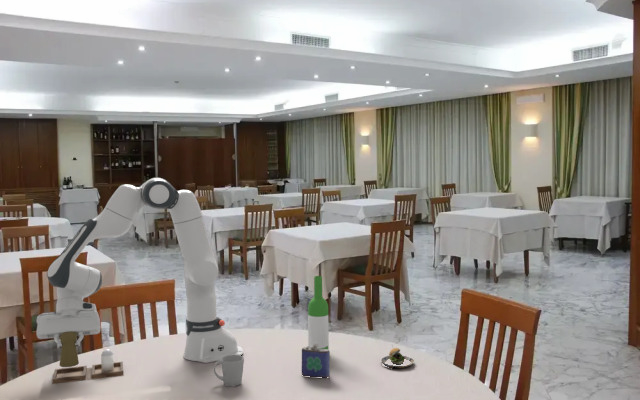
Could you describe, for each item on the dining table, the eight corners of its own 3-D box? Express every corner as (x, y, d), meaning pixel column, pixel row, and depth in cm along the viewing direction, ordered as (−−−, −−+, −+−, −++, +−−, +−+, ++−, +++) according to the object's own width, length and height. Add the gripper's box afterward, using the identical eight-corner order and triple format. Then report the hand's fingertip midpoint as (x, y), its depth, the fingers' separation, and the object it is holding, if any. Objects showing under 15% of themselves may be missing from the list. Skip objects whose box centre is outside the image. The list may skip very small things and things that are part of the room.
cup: (244, 387, 192) (243, 361, 192) (213, 388, 191) (212, 363, 191) (244, 378, 200) (244, 354, 199) (214, 380, 199) (214, 355, 198)
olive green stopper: (72, 367, 196) (71, 335, 195) (55, 366, 197) (54, 334, 196) (82, 361, 201) (81, 330, 201) (66, 360, 203) (65, 329, 202)
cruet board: (122, 368, 211) (122, 360, 211) (123, 379, 200) (123, 371, 199) (55, 375, 203) (55, 368, 203) (52, 388, 192) (52, 380, 192)
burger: (391, 373, 206) (391, 352, 205) (375, 362, 217) (375, 342, 216) (420, 368, 211) (420, 347, 210) (403, 358, 221) (403, 338, 221)
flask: (330, 376, 202) (330, 343, 201) (328, 379, 199) (327, 346, 198) (302, 373, 205) (302, 341, 204) (300, 377, 202) (299, 344, 201)
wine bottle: (332, 352, 227) (332, 275, 225) (321, 358, 220) (321, 279, 218) (315, 349, 231) (315, 273, 229) (304, 355, 224) (303, 277, 222)
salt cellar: (113, 368, 206) (113, 347, 205) (113, 372, 202) (113, 350, 202) (101, 370, 205) (101, 348, 204) (101, 373, 201) (100, 351, 200)
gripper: (36, 308, 201) (33, 345, 192) (100, 304, 208) (100, 339, 199) (37, 318, 205) (35, 354, 197) (100, 313, 212) (100, 348, 204)
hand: (68, 346), depth 198 cm, fingers closed on olive green stopper, 4 cm apart
